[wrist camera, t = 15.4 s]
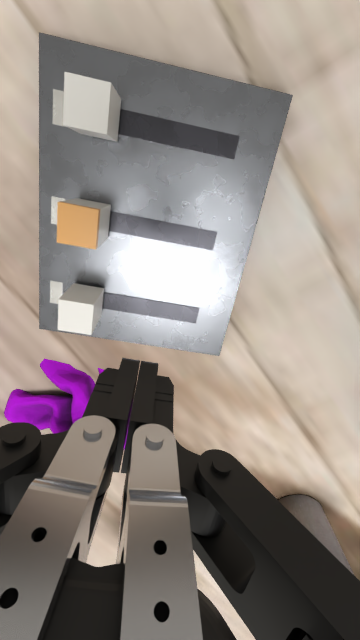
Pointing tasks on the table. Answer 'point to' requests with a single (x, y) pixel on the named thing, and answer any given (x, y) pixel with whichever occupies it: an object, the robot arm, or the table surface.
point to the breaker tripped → (82, 223)
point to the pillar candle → (315, 523)
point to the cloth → (53, 399)
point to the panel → (155, 194)
